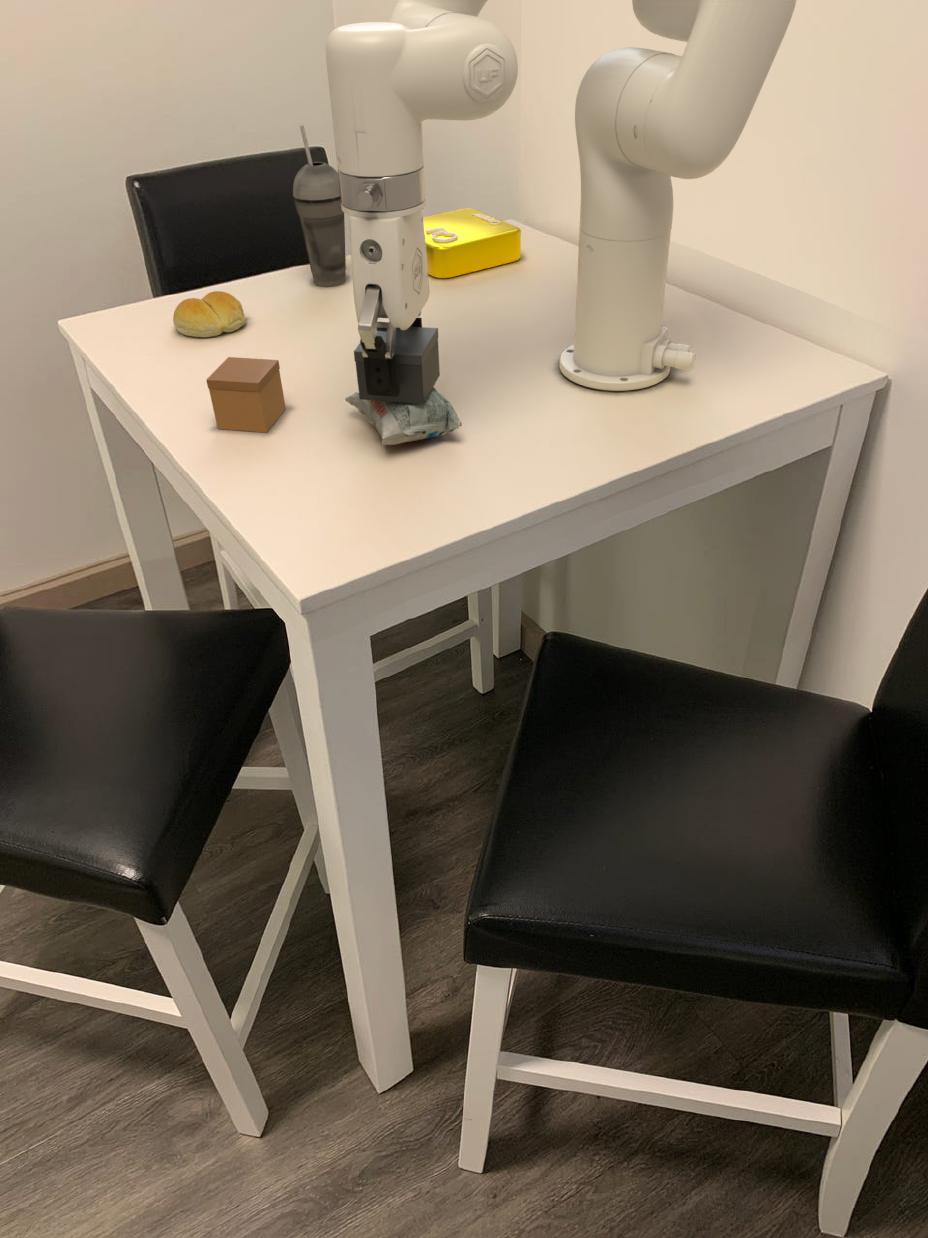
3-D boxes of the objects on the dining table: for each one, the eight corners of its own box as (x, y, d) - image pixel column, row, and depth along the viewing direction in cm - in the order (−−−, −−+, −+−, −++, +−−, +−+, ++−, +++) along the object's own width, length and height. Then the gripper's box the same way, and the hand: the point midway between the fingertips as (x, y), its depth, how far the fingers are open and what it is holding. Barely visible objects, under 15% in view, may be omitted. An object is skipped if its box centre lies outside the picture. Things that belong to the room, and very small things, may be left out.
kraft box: (286, 408, 102) (278, 359, 98) (267, 433, 97) (258, 383, 94) (237, 404, 103) (228, 356, 99) (216, 429, 98) (205, 379, 95)
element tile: (526, 259, 137) (526, 225, 134) (439, 281, 131) (438, 246, 128) (470, 234, 147) (469, 202, 144) (387, 253, 141) (385, 220, 138)
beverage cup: (352, 289, 130) (335, 130, 117) (300, 290, 130) (278, 132, 117) (357, 271, 135) (342, 118, 123) (308, 272, 136) (287, 120, 123)
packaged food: (383, 464, 92) (380, 418, 88) (346, 414, 100) (341, 371, 97) (464, 445, 94) (464, 400, 91) (421, 399, 103) (419, 356, 100)
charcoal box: (440, 374, 96) (438, 327, 93) (424, 404, 91) (421, 355, 87) (378, 370, 97) (373, 324, 94) (358, 399, 92) (353, 351, 89)
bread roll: (168, 324, 122) (161, 294, 119) (233, 309, 125) (228, 279, 123) (187, 345, 116) (179, 313, 114) (255, 329, 119) (249, 298, 117)
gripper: (397, 219, 75) (411, 416, 86) (445, 165, 88) (451, 342, 99) (309, 216, 76) (333, 410, 87) (369, 163, 89) (383, 338, 100)
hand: (396, 373), depth 93 cm, fingers open, 8 cm apart
